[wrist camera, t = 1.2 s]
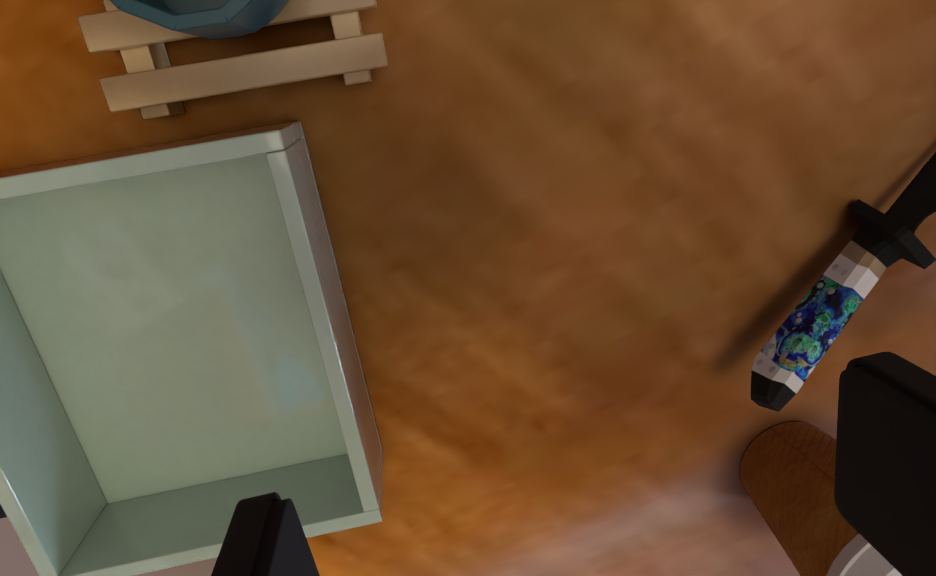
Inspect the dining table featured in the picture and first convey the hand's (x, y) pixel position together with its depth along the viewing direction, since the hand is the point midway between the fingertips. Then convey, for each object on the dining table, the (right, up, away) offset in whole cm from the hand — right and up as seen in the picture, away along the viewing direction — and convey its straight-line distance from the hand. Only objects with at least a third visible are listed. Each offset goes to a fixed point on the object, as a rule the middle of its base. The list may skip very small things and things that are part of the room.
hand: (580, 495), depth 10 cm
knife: (+23, +10, +25) cm, 35 cm away
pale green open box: (-17, +1, +22) cm, 28 cm away
